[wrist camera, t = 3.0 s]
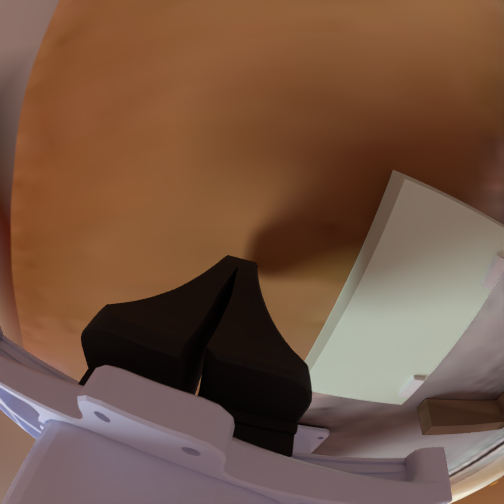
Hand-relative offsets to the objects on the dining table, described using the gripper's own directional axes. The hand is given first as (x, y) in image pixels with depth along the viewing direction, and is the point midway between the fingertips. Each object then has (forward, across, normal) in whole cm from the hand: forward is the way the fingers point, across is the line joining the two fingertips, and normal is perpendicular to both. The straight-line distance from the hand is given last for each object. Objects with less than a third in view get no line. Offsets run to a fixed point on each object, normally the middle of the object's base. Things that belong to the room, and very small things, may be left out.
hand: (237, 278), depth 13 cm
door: (+2, -8, 0) cm, 8 cm away
